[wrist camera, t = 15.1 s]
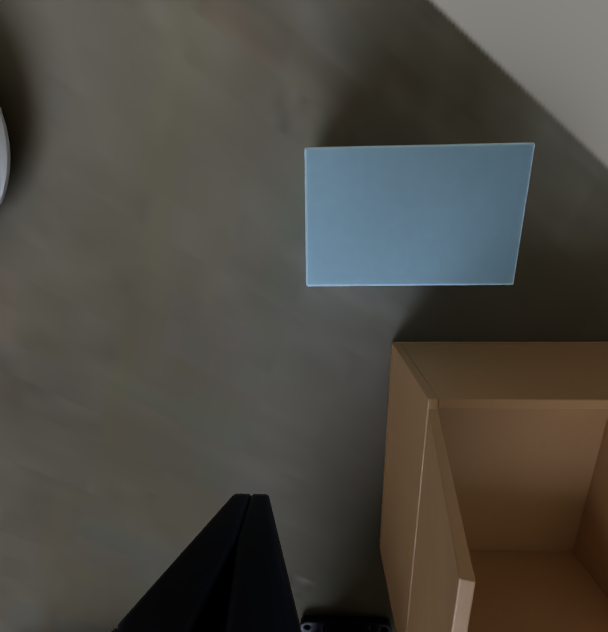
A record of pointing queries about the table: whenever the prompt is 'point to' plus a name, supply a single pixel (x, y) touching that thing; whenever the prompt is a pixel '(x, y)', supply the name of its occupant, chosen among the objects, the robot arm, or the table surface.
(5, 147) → the flower in vase
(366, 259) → the case
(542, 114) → the table surface
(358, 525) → the table surface
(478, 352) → the carton
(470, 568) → the flap
